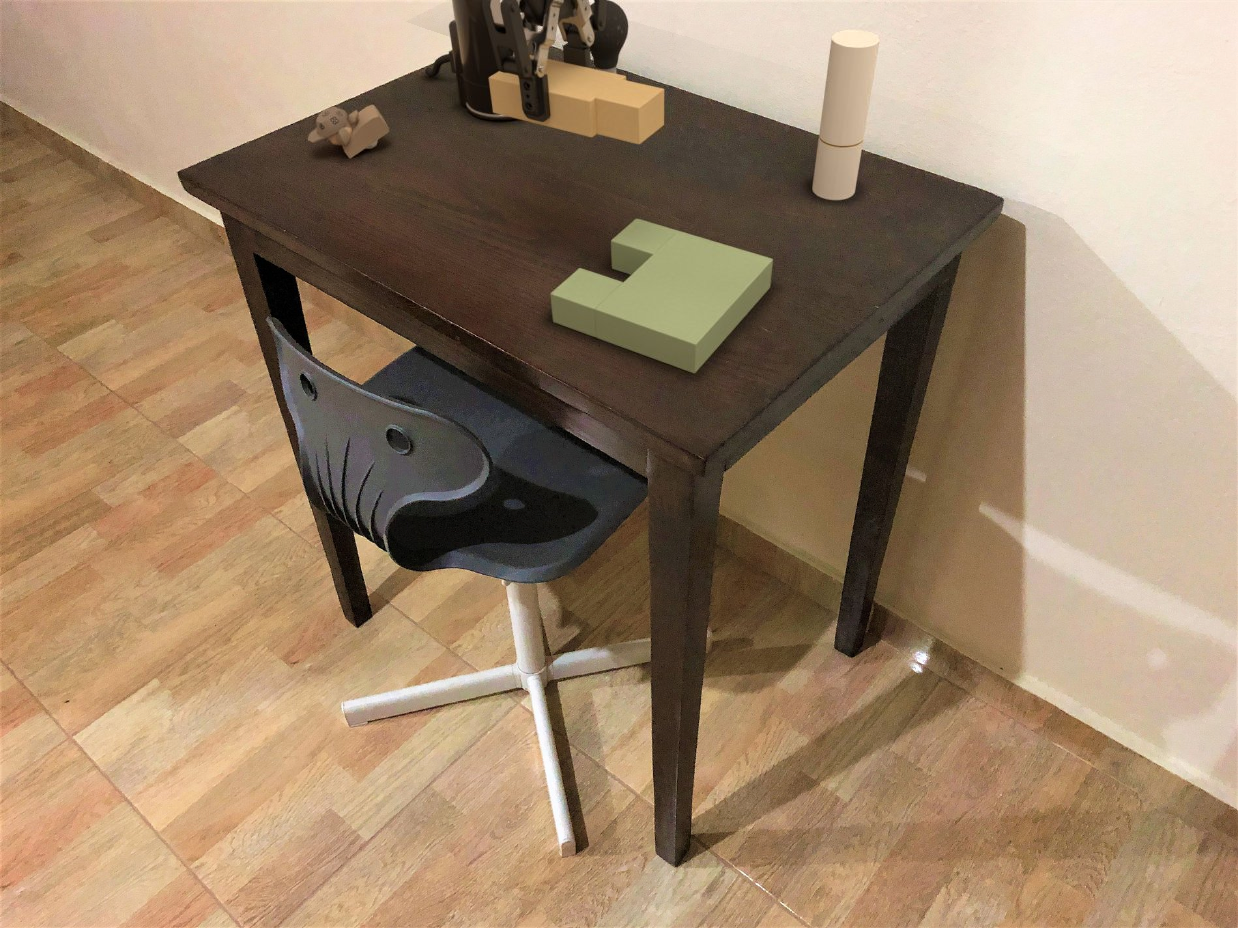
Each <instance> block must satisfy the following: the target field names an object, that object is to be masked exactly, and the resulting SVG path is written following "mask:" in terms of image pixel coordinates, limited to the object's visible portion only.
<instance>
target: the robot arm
mask: <svg viewBox="0 0 1238 928" xmlns="http://www.w3.org/2000/svg"><path fill="white" fill-rule="evenodd" d="M593 3H594V14H593V13H592V10H591V7H590V5H591V3H590V1H589V0H451V5H452V11H453V17H454V19H453V20H451V21H449V24H448V32H449V37H450V44H451V49H450V50H449V51H448V53H447V54H443V55H440V56H438V57H437V58H436V59H435V60H434V62H433V65H432V68H431V67H429V66H428V67H426V68H425V69H424V74H425V75H427V76H429V77H436V76H437V75H438V74H439V73H440V71H441V68H442V66H443V65H444V64H446V63H450V70H451V73H452V74H455V77H456V84H457V89H458V96H459V103H460V106H461V107H465V108H466V110H467V112H468V113H470V114H471V115H473V116H475V117H476V118H480V119H482V120H483V119H484V120H489V121H510V120H518V119H517V118H513V117H509V116H505V115H501V114H497V113H493V107H492V100H491V92H490V84H489V77H490V76H492V75H494V74H495V73H497V72H499V71H500V72H503V73H510V74H514V75H518V77H519V84H520V93H521V101H522V110H523V112H524V114H525V116H526V117H527V118H528V119H532V120H536V121H540V122H544V121H546V120H547V119H549V118H550V115H551V114H550V102H549V87H548V75H547V74H545V72H546V65H547V59H549V58H548V57H549V49H550V47H552V46H553V45H554V44H555V43H556V38H557V32H558V30H559V32H560V35H561V38H562V40H563V42H564V43H565V42H566V43H565V44H563V45H562V56H563V62H564V63H569V64H573V65H578V66H582V67H587V68H591V69H592V64H591V63H592V59H591V52H590V46H592V44H593V42H594V34H595V32H596V31H602V30H603V29H604V27H605V23H606V6H607V0H593ZM539 27H542V28H541V29H540V31H539ZM530 55H532V56H534V59H532V58H530Z"/></svg>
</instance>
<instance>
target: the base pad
mask: <svg viewBox="0 0 1238 928" xmlns="http://www.w3.org/2000/svg"><path fill="white" fill-rule="evenodd" d="M610 257H611V269H612V270H615V271H618V272H621V273H624V274H627V275H629V276H628V277H627V278H626V279H625V280H624V281H621V280H617V279H615V278H611V277H608V276H606V275H603V274H600V273H596V272H593V271H591V270H587V269H585V268H582V267H579V268H577V270H575V271H574V272H573V273H572V274H570V275H569V277H567V278H566V279H565V280H564V281H563V282H562V283H560V284H559V285H558V286H557V287H555V289H554V290H552V291H551V292H550V303H551V304H550V305H551V315H552V322H553V323H554V324H558V325H560V326H563V327H566V328H568V329H571V330H574V331H576V332H579V333H582V334H585V335H588V336H590V337H594V338H596V339H599V340H602V341H604V342H606V343H610V344H612V345H615V346H618V347H621V348H623V349H625V350H627V351H632V352H635V353H637V354H640V355H641V356H642V355H643V356H645V357H648V358H651V359H652V360H656V361H659V362H661V363H664V364H667V365H669V366H672V367H675V368H678V369H681V370H683V371H686V372H689V373H692V374H696V373H697V372H698V371H699V370H700V369H701V367H702V366H703V365H704V364H705V363H706V361H708V359H709V358H710V357H711V356H712V355H713V353H714V352H715V351H716V350H717V349H718V348H719V346H721V345H722V343H723V342H724V341H725V340H726V339H727V337H728V336H729V335H730V334H731V333H732V332H733V331H734V330H735V328H736V327H737V326H738V325H739V324H740V323H741V321H742V320H743V319H744V318H745V317H746V316H747V315H748V314H749V312H751V310H752V309H753V308H754V307H755V305H756V304H757V303H758V302H759V301H760V300H761V299H762V298H763V296H764V295H765V294H766V293H767V292H768V291H769V289H771V284H772V283H771V282H772V275H773V274H772V273H773V264H774V259H773V258H771V257H767V256H765V255H761V254H757V253H754V252H751V251H748V250H745V249H741V248H738V247H734V246H731V245H727V244H724V243H721V242H718V241H714V240H711V239H707V238H704V237H701V236H697V235H695V234H690V233H687V232H684V231H681V230H677V229H674V228H671V227H667V226H663V225H660V224H657V223H654V222H650V221H647V220H644V219H640V218H635V219H634V220H633V221H632V222H630V223H629V224H628V225H627V226H625V228H623V229H622V230H621V231H620V232H619V233H617V235H616V236H614V237H613V238H612V239H611V240H610Z"/></svg>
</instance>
